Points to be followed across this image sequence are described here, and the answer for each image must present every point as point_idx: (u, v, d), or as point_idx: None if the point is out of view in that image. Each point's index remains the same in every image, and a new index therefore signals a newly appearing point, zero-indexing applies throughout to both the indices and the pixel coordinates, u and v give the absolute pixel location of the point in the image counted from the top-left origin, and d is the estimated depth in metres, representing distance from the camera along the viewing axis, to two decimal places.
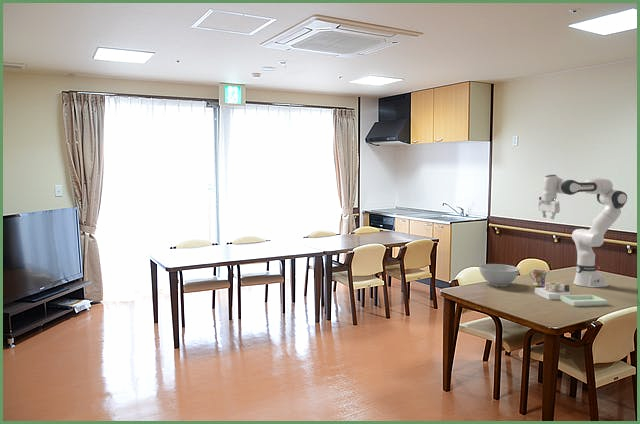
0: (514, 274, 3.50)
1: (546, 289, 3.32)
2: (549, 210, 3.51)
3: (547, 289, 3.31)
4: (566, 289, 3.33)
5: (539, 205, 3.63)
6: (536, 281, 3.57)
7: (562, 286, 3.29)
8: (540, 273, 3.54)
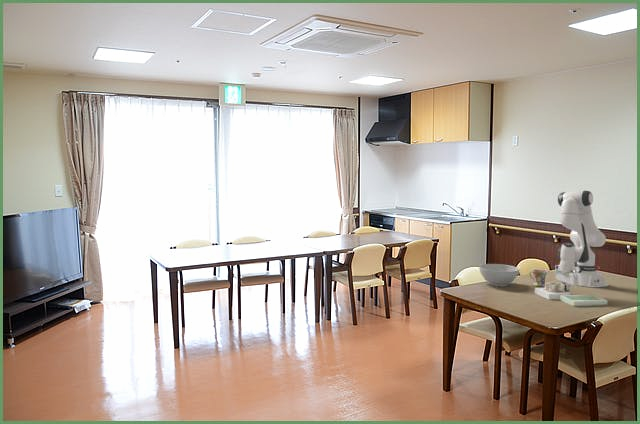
0: (514, 274, 3.50)
1: (546, 289, 3.32)
2: (567, 282, 3.29)
3: (547, 289, 3.31)
4: None
5: (556, 274, 3.40)
6: (536, 281, 3.57)
7: (562, 286, 3.29)
8: (540, 273, 3.54)
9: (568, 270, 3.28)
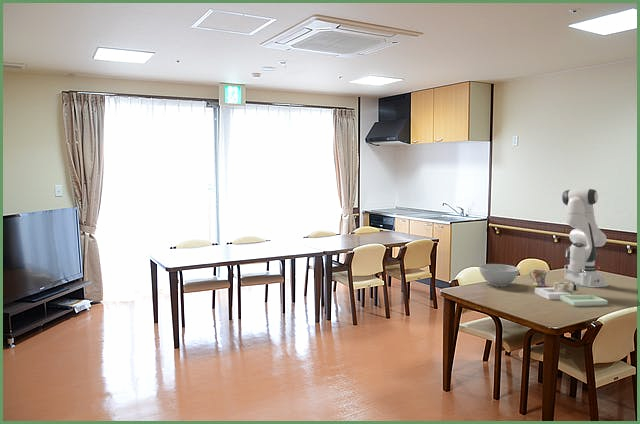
0: (514, 274, 3.50)
1: (555, 288, 3.34)
2: (577, 281, 3.30)
3: (556, 288, 3.32)
4: (575, 289, 3.34)
5: (565, 274, 3.42)
6: (536, 281, 3.57)
7: (571, 285, 3.30)
8: (540, 273, 3.54)
9: (578, 270, 3.29)
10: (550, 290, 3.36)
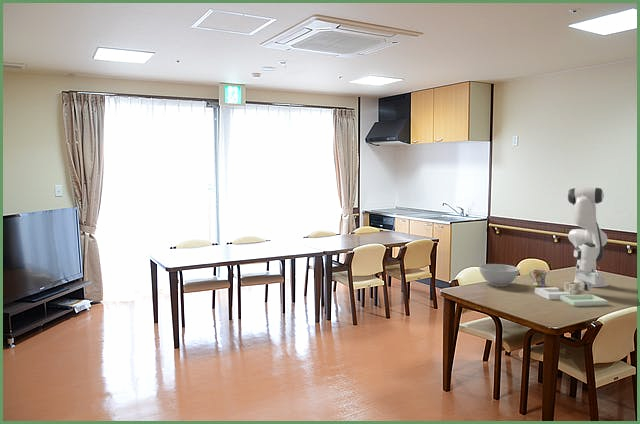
0: (514, 274, 3.50)
1: (566, 288, 3.34)
2: (588, 281, 3.31)
3: (567, 288, 3.33)
4: None
5: (576, 273, 3.43)
6: (536, 281, 3.57)
7: (582, 285, 3.31)
8: (540, 273, 3.54)
9: (589, 270, 3.30)
10: (550, 290, 3.36)
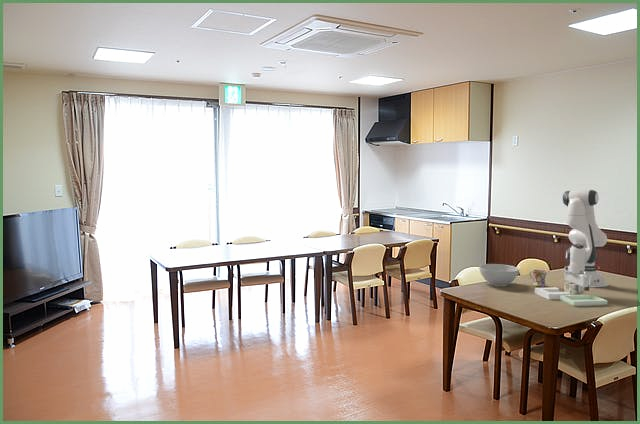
0: (514, 274, 3.50)
1: (566, 288, 3.34)
2: (577, 283, 3.30)
3: (567, 288, 3.33)
4: (586, 288, 3.35)
5: (565, 275, 3.42)
6: (536, 281, 3.57)
7: None
8: (540, 273, 3.54)
9: (578, 271, 3.29)
10: (550, 290, 3.36)
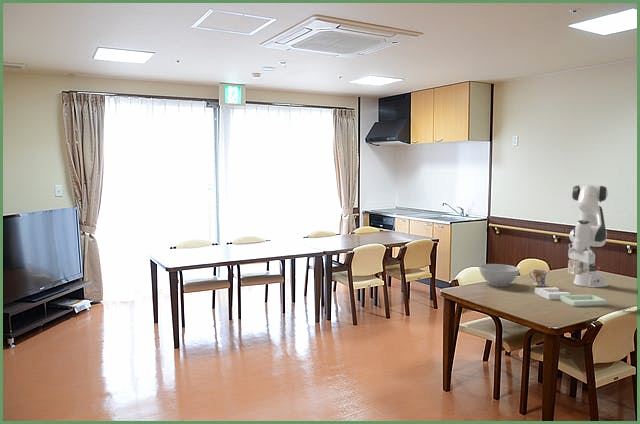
0: (514, 274, 3.50)
1: (570, 266, 3.21)
2: (581, 260, 3.16)
3: (571, 266, 3.20)
4: (591, 266, 3.21)
5: (569, 253, 3.28)
6: (536, 281, 3.57)
7: None
8: (540, 273, 3.54)
9: (583, 248, 3.15)
10: (550, 290, 3.36)
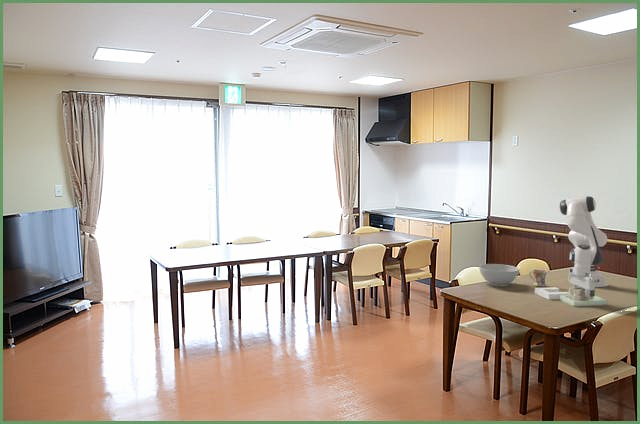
0: (514, 274, 3.50)
1: (570, 294, 3.16)
2: (582, 286, 3.12)
3: (571, 294, 3.15)
4: (591, 294, 3.17)
5: (570, 277, 3.23)
6: (536, 281, 3.57)
7: None
8: (540, 273, 3.54)
9: (583, 274, 3.11)
10: (550, 290, 3.36)
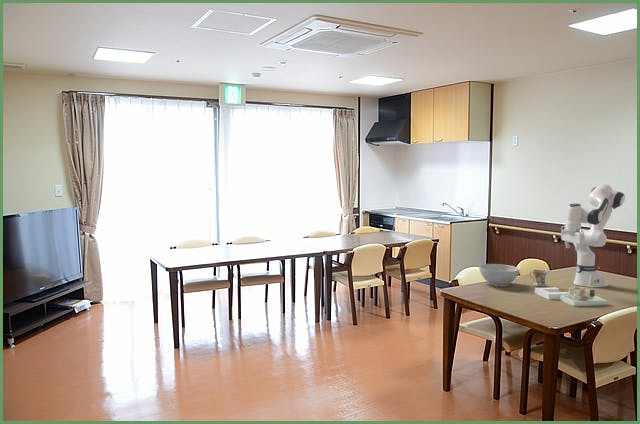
0: (514, 274, 3.50)
1: (570, 294, 3.16)
2: (573, 241, 3.34)
3: (571, 294, 3.15)
4: (591, 294, 3.17)
5: (562, 235, 3.46)
6: (536, 281, 3.57)
7: (587, 291, 3.13)
8: (540, 273, 3.54)
9: (574, 230, 3.33)
10: (550, 290, 3.36)
